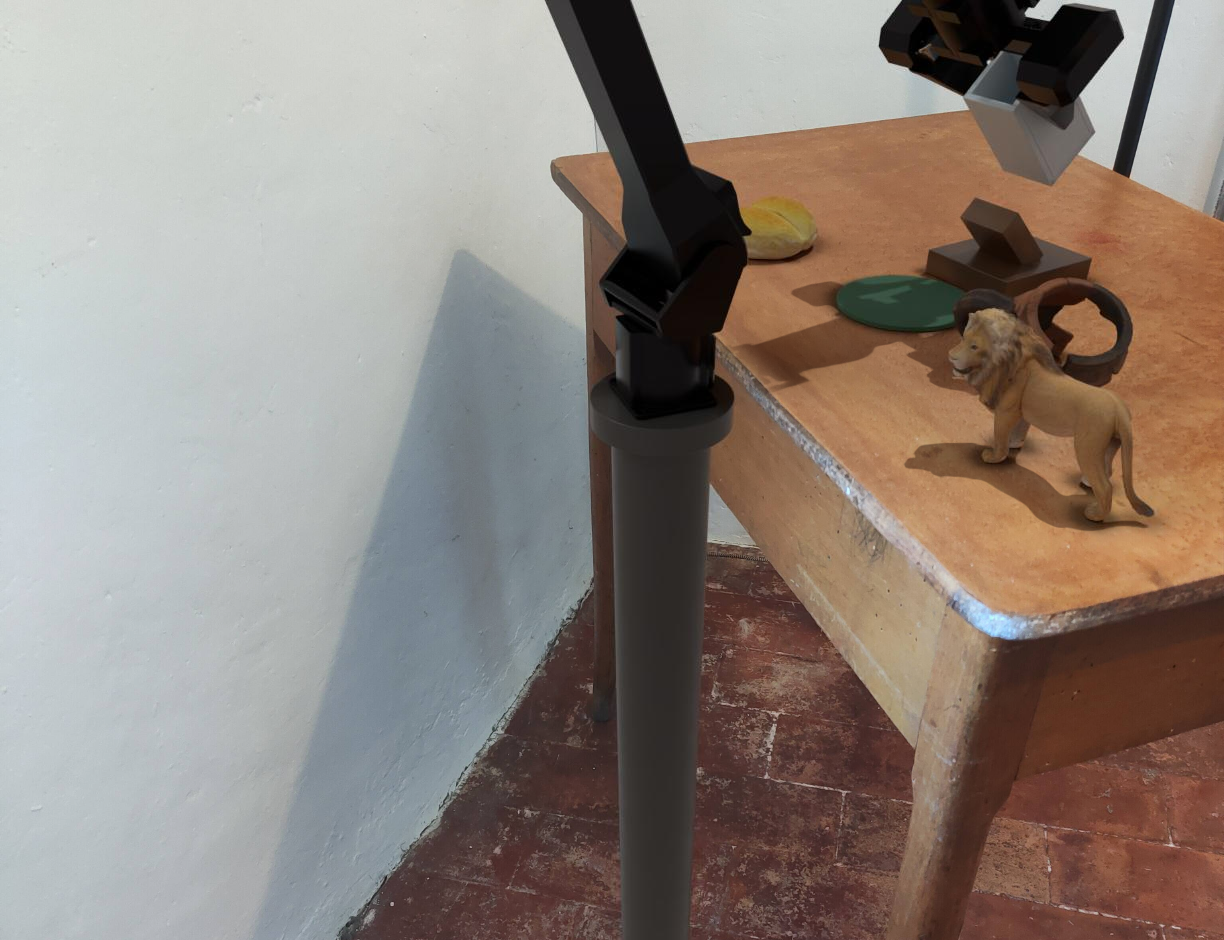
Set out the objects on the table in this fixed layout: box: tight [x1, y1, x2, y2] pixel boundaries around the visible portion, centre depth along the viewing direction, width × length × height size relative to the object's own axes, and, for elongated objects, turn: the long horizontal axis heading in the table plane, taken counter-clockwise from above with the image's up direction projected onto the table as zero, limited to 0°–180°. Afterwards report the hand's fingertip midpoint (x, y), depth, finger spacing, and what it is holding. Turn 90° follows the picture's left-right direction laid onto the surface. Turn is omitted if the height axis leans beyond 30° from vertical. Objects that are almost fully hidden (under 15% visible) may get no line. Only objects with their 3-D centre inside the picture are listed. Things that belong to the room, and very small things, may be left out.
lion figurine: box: [948, 308, 1155, 522], centre depth 64 cm, size 15×5×9 cm, turn 39°
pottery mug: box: [952, 278, 1134, 388], centre depth 75 cm, size 12×10×8 cm
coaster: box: [835, 274, 966, 333], centre depth 88 cm, size 11×11×1 cm
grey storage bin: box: [962, 51, 1096, 187], centre depth 83 cm, size 10×7×10 cm
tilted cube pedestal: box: [924, 196, 1093, 298], centre depth 90 cm, size 10×9×7 cm
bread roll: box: [739, 195, 819, 260], centre depth 98 cm, size 8×9×4 cm
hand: (1030, 114), depth 83 cm, fingers closed on grey storage bin, 7 cm apart
